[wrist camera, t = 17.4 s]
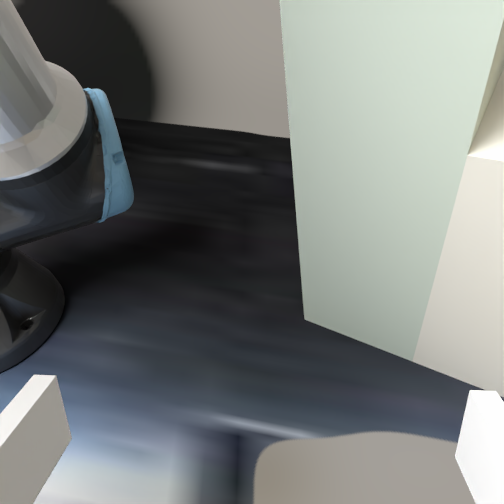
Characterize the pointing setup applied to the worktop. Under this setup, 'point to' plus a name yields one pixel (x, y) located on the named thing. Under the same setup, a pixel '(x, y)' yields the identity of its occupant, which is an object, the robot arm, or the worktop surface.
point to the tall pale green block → (401, 175)
